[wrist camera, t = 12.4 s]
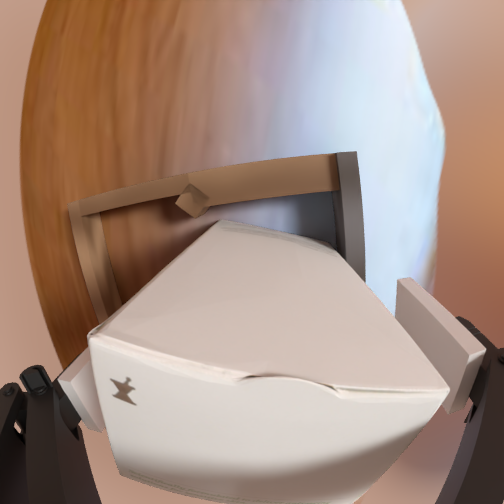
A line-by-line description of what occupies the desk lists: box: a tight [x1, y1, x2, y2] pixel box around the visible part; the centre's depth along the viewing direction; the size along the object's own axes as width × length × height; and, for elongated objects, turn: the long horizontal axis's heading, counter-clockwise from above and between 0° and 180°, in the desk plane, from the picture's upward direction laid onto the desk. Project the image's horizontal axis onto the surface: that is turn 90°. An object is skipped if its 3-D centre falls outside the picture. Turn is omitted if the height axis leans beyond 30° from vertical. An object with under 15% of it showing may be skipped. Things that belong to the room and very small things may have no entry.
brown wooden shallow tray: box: [67, 151, 365, 325], centre depth 19 cm, size 15×20×3 cm
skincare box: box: [87, 220, 450, 504], centre depth 13 cm, size 8×7×16 cm
